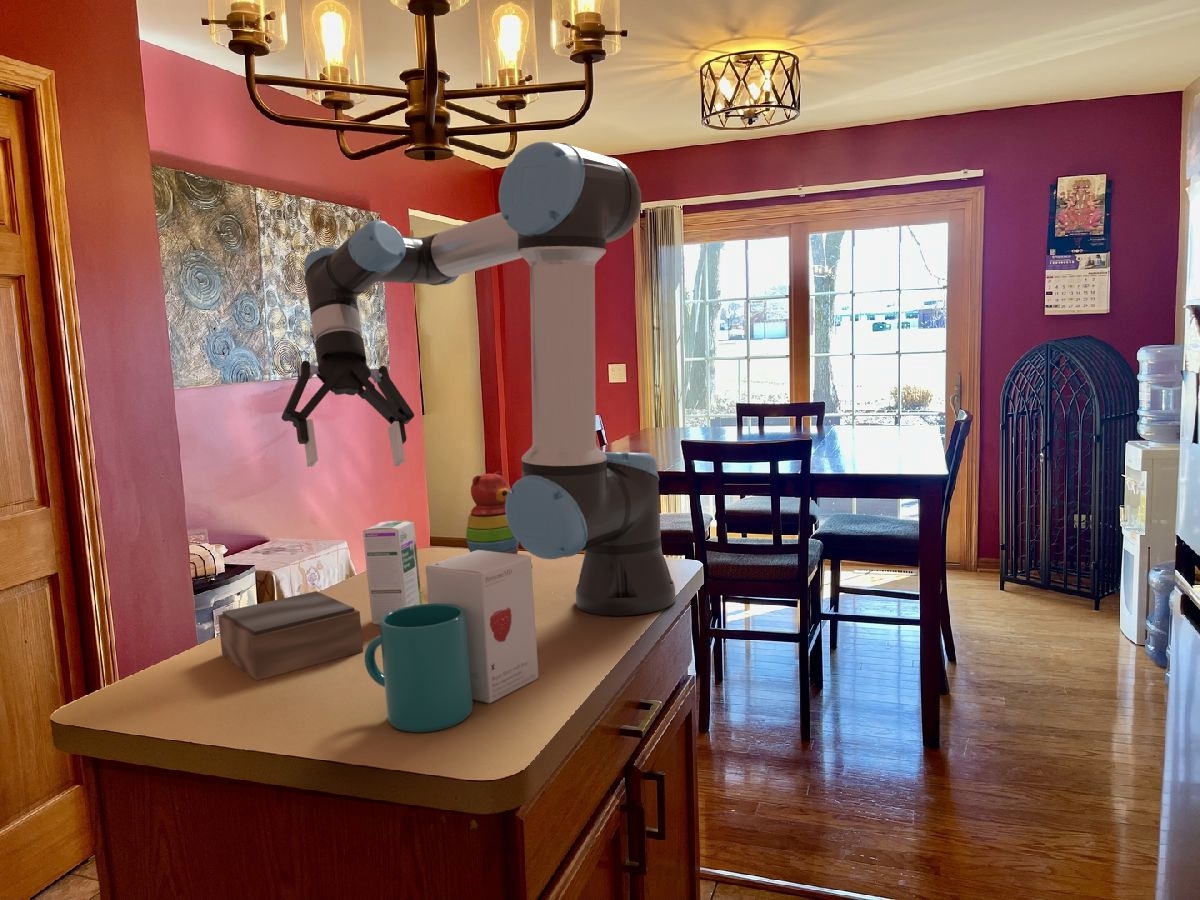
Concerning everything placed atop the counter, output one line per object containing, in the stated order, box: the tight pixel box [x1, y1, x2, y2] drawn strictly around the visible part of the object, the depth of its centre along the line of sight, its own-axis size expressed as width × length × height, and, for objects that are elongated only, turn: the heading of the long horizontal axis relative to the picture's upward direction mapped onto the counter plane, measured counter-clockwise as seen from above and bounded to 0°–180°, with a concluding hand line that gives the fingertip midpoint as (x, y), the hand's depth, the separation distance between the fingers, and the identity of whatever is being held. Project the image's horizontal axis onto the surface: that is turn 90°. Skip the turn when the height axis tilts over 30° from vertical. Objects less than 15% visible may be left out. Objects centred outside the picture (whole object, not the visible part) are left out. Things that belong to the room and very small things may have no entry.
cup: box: [364, 603, 474, 733], centre depth 94 cm, size 9×12×11 cm
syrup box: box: [362, 520, 423, 626], centre depth 130 cm, size 6×6×14 cm
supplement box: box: [425, 550, 539, 704], centre depth 101 cm, size 9×9×15 cm
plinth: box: [217, 591, 364, 681], centre depth 117 cm, size 14×14×6 cm
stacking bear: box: [465, 471, 520, 554], centre depth 156 cm, size 11×10×18 cm
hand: (357, 463), depth 133 cm, fingers open, 13 cm apart
